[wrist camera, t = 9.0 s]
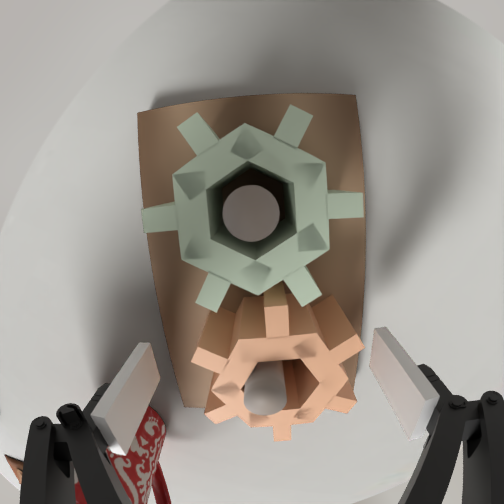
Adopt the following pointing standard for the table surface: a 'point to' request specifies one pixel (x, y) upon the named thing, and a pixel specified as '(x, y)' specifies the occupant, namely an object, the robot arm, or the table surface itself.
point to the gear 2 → (278, 357)
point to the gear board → (190, 279)
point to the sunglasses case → (16, 467)
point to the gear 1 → (286, 232)
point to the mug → (139, 463)
